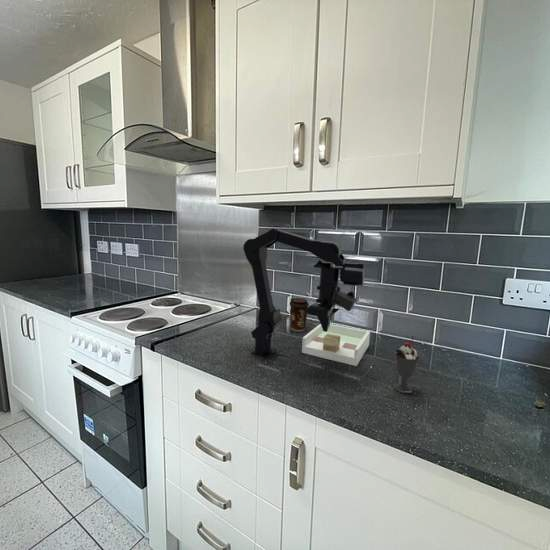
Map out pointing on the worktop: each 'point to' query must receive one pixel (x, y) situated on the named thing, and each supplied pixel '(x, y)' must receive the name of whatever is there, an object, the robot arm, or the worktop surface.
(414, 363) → the sundae
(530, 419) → the worktop surface
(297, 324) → the coffee cup
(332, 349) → the block
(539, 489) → the worktop surface
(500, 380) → the worktop surface
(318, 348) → the trap box
